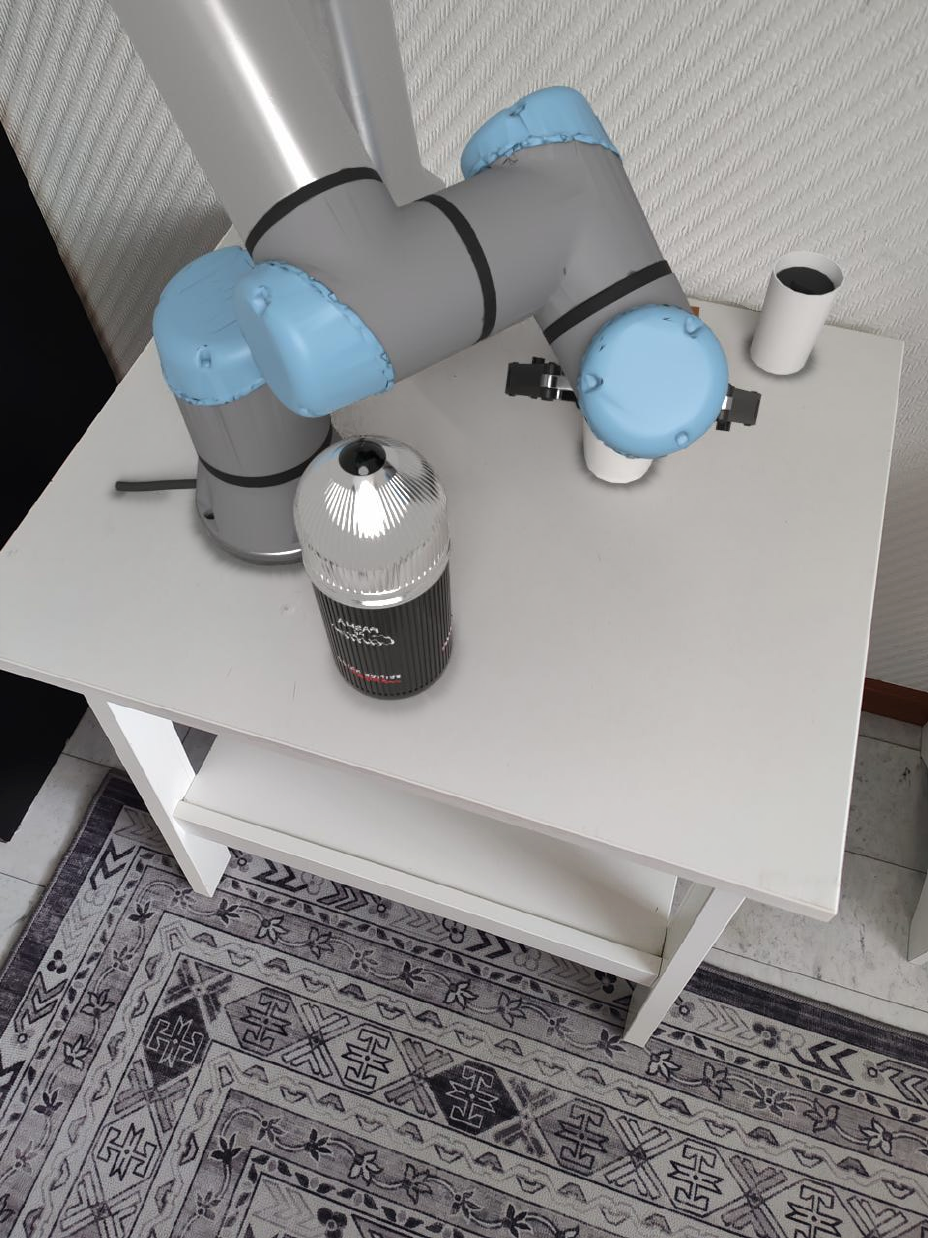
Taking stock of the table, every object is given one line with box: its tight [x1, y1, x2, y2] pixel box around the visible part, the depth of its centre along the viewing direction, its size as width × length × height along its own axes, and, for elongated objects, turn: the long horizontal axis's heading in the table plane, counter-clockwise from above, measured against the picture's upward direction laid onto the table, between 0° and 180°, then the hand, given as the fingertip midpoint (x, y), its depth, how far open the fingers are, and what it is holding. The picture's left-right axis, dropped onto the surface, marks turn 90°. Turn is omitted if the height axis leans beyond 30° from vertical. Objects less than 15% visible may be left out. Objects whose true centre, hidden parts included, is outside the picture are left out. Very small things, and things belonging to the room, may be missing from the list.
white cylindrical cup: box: [749, 250, 846, 376], centre depth 88 cm, size 7×7×10 cm
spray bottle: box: [293, 434, 454, 702], centre depth 63 cm, size 10×10×25 cm
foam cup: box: [581, 413, 654, 484], centre depth 79 cm, size 10×9×13 cm
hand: (626, 395), depth 79 cm, fingers open, 13 cm apart
